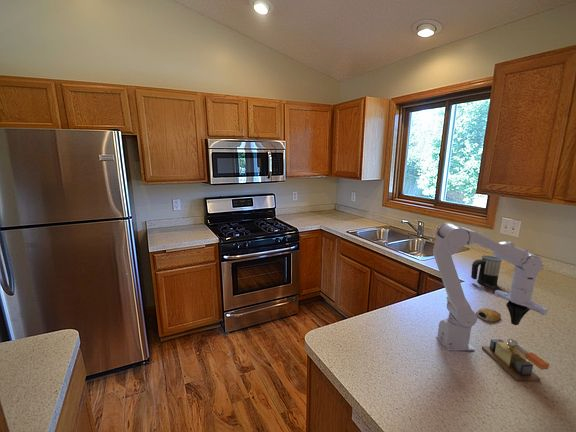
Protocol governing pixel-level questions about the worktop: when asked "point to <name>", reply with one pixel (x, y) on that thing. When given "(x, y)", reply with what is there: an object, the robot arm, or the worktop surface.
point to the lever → (529, 355)
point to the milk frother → (487, 271)
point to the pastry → (488, 315)
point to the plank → (511, 370)
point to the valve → (511, 357)
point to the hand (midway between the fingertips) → (514, 323)
